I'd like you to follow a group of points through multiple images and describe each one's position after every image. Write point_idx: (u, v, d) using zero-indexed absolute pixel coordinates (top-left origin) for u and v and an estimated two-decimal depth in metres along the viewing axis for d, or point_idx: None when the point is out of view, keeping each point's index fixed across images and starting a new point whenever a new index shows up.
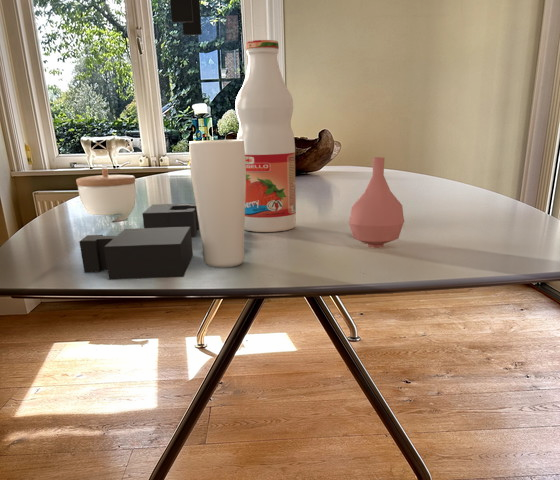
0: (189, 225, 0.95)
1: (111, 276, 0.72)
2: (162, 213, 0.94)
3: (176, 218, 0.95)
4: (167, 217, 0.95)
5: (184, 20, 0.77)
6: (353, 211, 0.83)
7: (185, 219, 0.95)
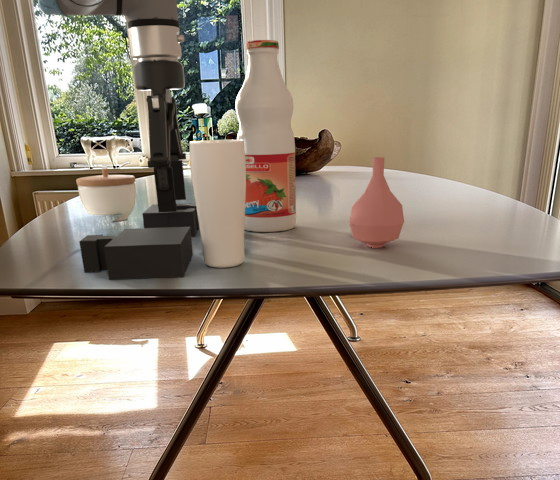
0: (189, 225, 0.95)
1: (111, 276, 0.72)
2: (162, 213, 0.94)
3: (176, 218, 0.95)
4: (167, 217, 0.95)
5: (169, 211, 0.92)
6: (353, 211, 0.83)
7: (185, 219, 0.95)
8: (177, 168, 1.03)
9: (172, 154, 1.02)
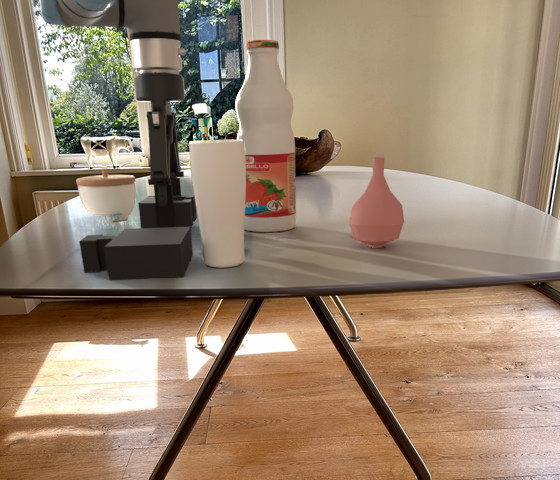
0: (185, 216, 0.94)
1: (111, 276, 0.72)
2: None
3: None
4: None
5: (168, 226, 0.94)
6: (353, 211, 0.83)
7: (182, 210, 0.94)
8: (175, 186, 1.02)
9: (170, 171, 1.02)
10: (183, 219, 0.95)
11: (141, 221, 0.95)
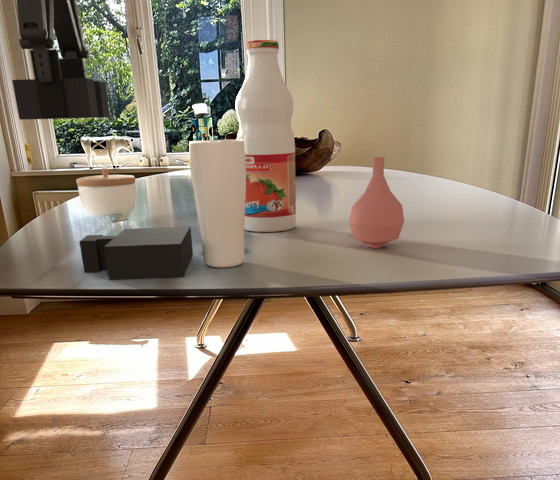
0: (82, 99, 0.66)
1: (111, 276, 0.72)
2: None
3: None
4: None
5: (56, 115, 0.66)
6: (353, 211, 0.83)
7: (76, 90, 0.66)
8: (76, 70, 0.74)
9: (68, 49, 0.74)
10: (79, 104, 0.66)
11: (18, 107, 0.66)
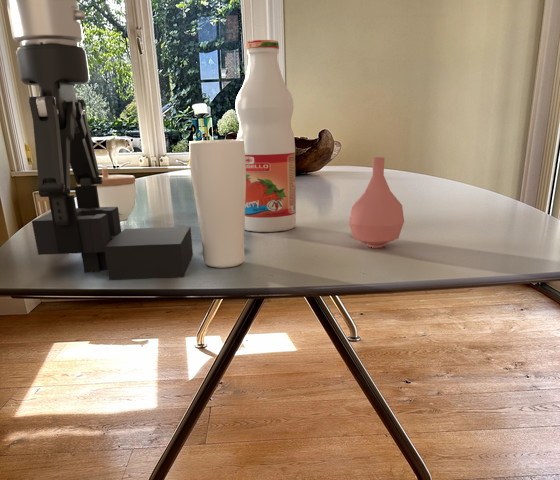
0: (96, 236, 0.71)
1: (111, 276, 0.72)
2: None
3: None
4: None
5: (72, 251, 0.71)
6: (353, 211, 0.83)
7: (91, 228, 0.70)
8: (90, 196, 0.78)
9: (83, 177, 0.78)
10: (93, 241, 0.71)
11: (37, 245, 0.71)
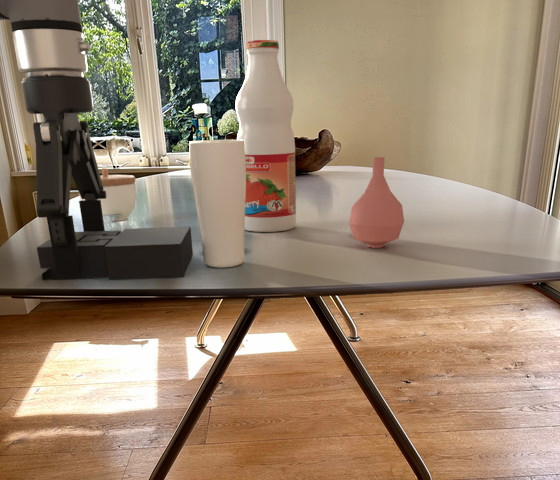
0: (100, 263, 0.72)
1: (111, 276, 0.72)
2: None
3: (82, 254, 0.71)
4: None
5: (70, 272, 0.70)
6: (353, 211, 0.83)
7: (95, 255, 0.72)
8: (94, 210, 0.81)
9: (87, 192, 0.80)
10: (97, 267, 0.72)
11: None
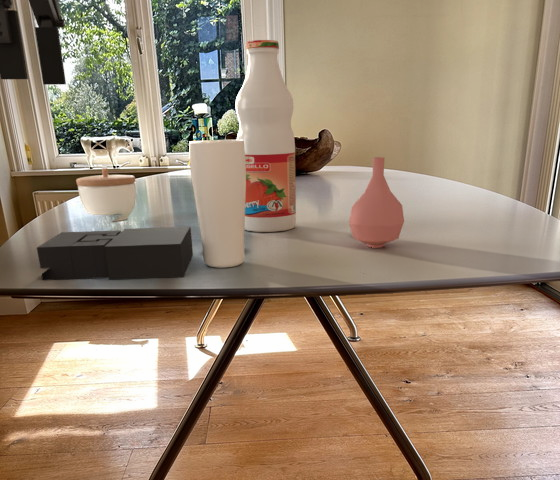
0: (100, 263, 0.72)
1: (111, 276, 0.72)
2: (63, 247, 0.71)
3: (82, 254, 0.71)
4: (70, 252, 0.71)
5: (15, 77, 0.65)
6: (353, 211, 0.83)
7: (95, 255, 0.72)
8: (51, 38, 0.76)
9: (44, 18, 0.75)
10: (97, 267, 0.72)
11: None
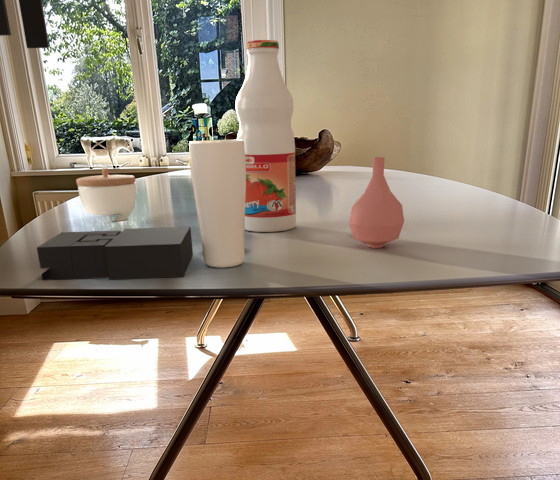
0: (100, 263, 0.72)
1: (111, 276, 0.72)
2: (63, 247, 0.71)
3: (82, 254, 0.71)
4: (70, 252, 0.71)
5: None
6: (353, 211, 0.83)
7: (95, 255, 0.72)
8: (33, 1, 0.77)
9: None
10: (97, 267, 0.72)
11: None
